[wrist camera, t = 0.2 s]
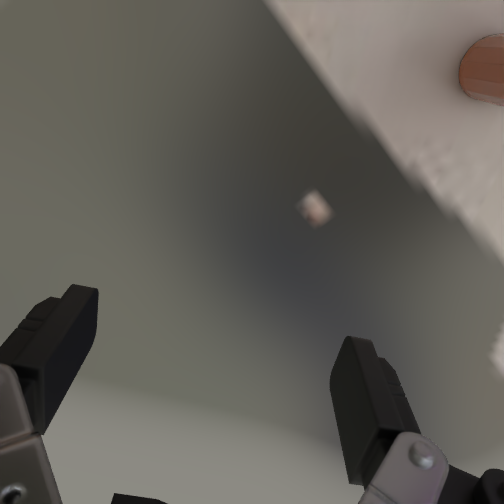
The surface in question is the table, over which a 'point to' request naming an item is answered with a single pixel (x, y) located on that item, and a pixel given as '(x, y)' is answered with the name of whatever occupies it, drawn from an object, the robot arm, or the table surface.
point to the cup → (484, 70)
